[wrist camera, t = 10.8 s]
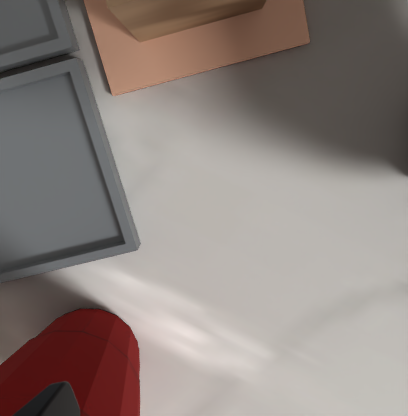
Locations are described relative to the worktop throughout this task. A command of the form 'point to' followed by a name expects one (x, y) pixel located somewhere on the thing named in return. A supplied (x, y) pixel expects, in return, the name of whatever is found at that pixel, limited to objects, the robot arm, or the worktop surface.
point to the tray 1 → (34, 32)
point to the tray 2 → (57, 175)
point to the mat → (193, 44)
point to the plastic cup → (77, 365)
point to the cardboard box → (175, 14)
